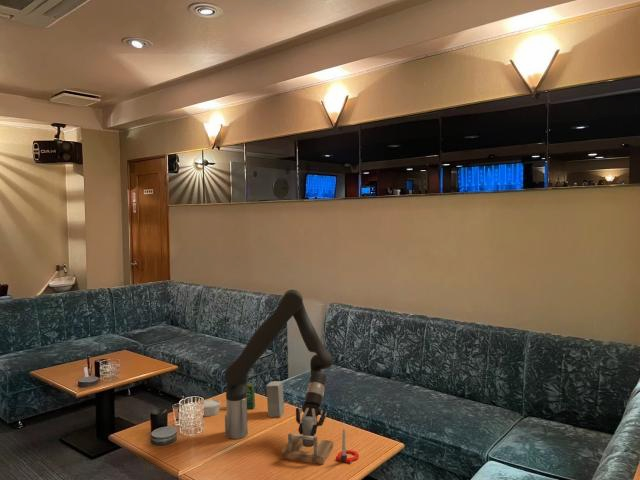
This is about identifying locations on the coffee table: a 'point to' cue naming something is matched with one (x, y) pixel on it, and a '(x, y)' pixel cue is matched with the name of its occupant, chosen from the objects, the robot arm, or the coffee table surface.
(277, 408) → the skincare box
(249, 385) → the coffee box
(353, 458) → the tow hook
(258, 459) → the coffee table surface
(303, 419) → the grey tapered capsule
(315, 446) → the wooden gate frame
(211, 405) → the ramekin
